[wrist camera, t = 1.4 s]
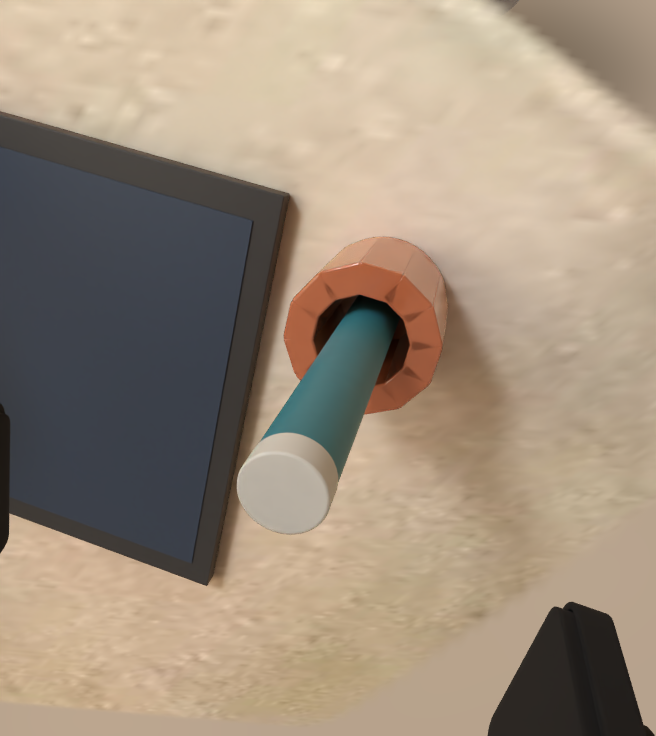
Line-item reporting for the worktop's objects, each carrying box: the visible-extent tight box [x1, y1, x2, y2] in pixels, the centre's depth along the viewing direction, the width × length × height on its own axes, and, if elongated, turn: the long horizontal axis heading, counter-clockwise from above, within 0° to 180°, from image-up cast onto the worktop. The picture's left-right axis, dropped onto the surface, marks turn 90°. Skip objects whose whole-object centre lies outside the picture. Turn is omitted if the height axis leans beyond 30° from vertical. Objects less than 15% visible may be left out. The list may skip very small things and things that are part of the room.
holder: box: [284, 237, 448, 414], centre depth 21 cm, size 5×5×5 cm
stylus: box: [237, 295, 400, 534], centre depth 17 cm, size 2×2×13 cm
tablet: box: [0, 112, 290, 586], centre depth 27 cm, size 20×13×1 cm, turn 166°
